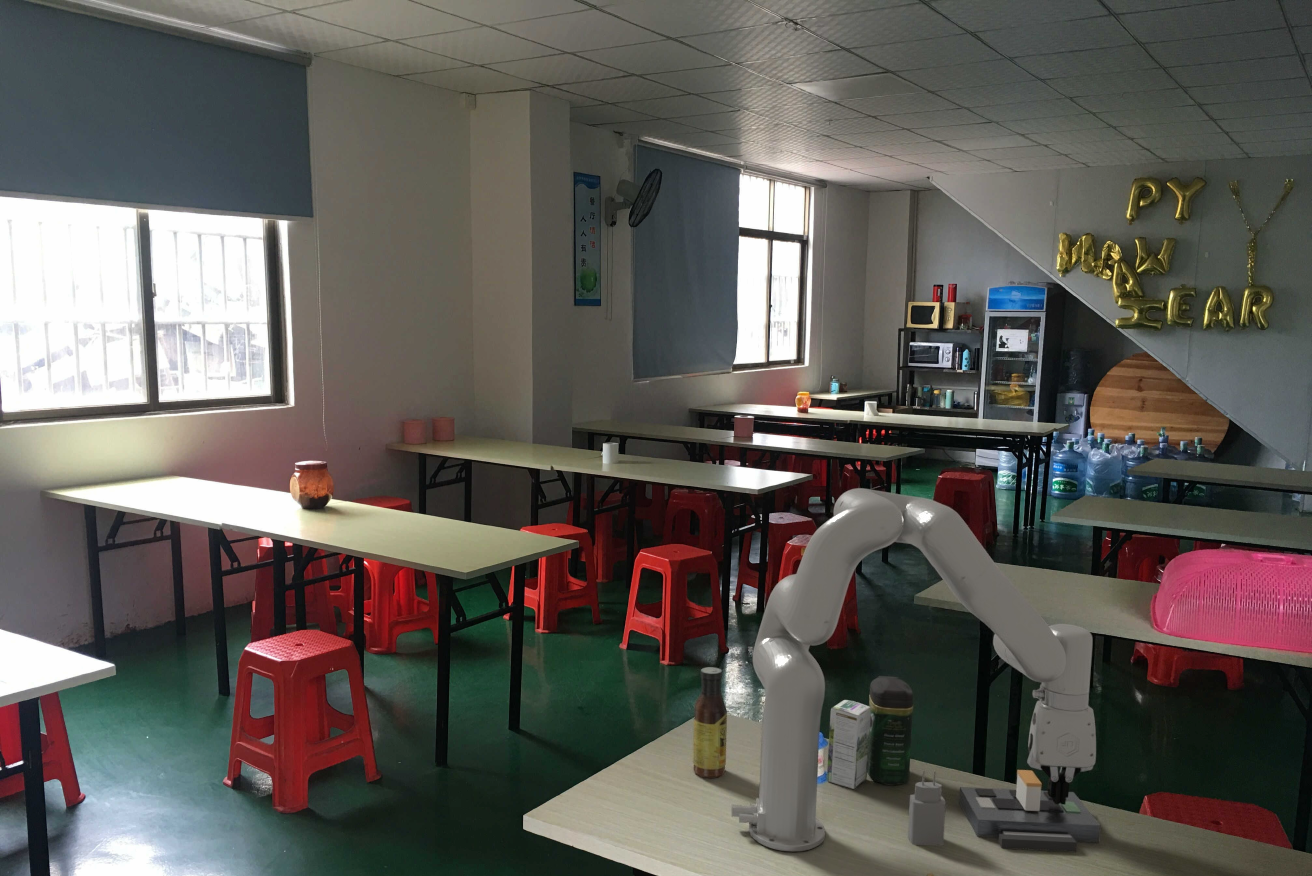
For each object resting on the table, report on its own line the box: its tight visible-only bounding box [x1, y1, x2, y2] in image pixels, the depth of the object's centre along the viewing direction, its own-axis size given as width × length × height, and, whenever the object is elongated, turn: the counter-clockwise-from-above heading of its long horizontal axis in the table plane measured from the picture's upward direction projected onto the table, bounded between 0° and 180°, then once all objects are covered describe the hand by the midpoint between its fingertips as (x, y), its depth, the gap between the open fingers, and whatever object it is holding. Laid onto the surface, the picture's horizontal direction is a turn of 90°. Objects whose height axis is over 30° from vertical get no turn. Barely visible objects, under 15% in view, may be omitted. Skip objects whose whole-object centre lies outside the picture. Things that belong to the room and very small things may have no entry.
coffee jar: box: [867, 675, 914, 786], centre depth 185 cm, size 10×8×19 cm
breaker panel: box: [958, 786, 1101, 843], centre depth 169 cm, size 20×12×3 cm, turn 87°
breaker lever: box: [1015, 769, 1043, 811], centre depth 168 cm, size 2×5×5 cm, turn 177°
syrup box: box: [826, 699, 871, 790], centre depth 183 cm, size 6×6×14 cm
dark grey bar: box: [998, 831, 1078, 853], centre depth 161 cm, size 12×3×2 cm, turn 87°
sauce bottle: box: [692, 666, 728, 779], centre depth 185 cm, size 7×6×20 cm
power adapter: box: [907, 770, 947, 846], centre depth 162 cm, size 3×5×12 cm, turn 91°
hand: (1057, 800), depth 168 cm, fingers closed
